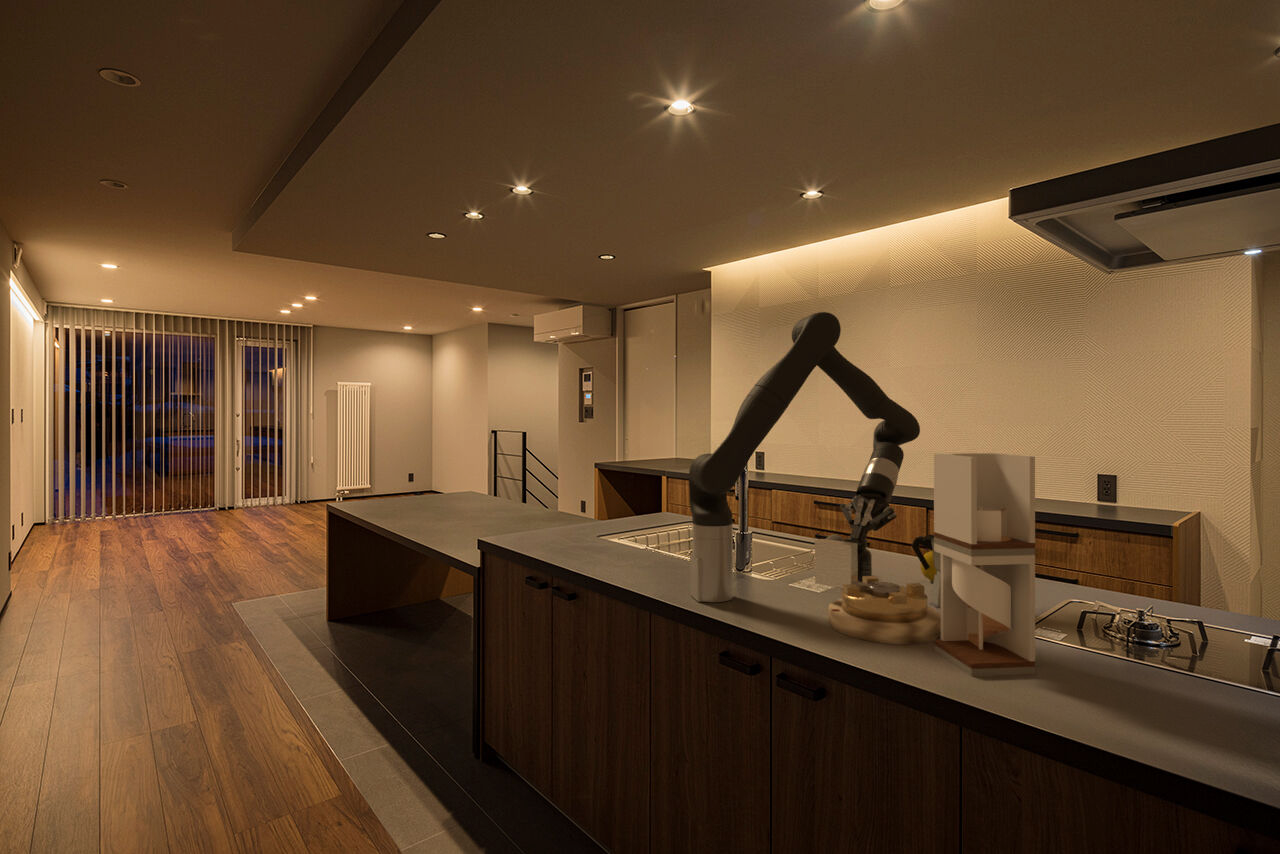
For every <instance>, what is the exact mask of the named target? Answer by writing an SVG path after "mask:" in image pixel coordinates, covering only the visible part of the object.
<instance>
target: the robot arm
mask: <svg viewBox="0 0 1280 854" xmlns="http://www.w3.org/2000/svg"><path fill="white" fill-rule="evenodd" d="M841 328H842V327H841V323H840V320H839V319H838V317H837V316H836V315H834V314H833V313H831V312H826V311H821V312H819V311H818V312H815V313H813V314H810V315H808V316H805V317H804V318H801V319H800V320H798V321H797V322H796V323H795V324H794V325H793V327H792V330H791V340H792V343H793V344H792V345H791V347H790V348H789V350H787V352H786V354H785V355H784V356H783V357H782V358H780V360H778V361H777V362H776V363H775V364H774V365H773V366H771V367H770V369H768V370H767V371H766V372H765V373H764V374H763V375H762V376H761V377H760V378H759V379H758V380H757V382H756V383H755V384H754V385H753V386H752V388H751V390H750V391H749V392H748V394H747V395H746V396H745V398H744V400H743V401H742V403H741V404H740V407H739V409H738V411H737V414H736V416H735V419H734V423H733V424H732V427H731V430H730V432H729V433H728V435H727V436H726V437H725V439H724V440H723V441H722V442H721V443H720V445H719V446H718V447H717V448H716V449H715V450H714V451H713V453H703V454H700V455H698V456H696V457H695V458H694V460H693V461H692V462H691V464H690V467H689V471H688V492H689V495H688V498H689V509H690V512H691V517H692V518H691V519H692V554H690V556H689V574H690V575H689V581H690V582H689V586H690V588H689V589H690V590H689V593H690V597H692V598H693V599H694V600H695V601H696V602H701V603H702V602H705V603H724V602H729V601H731V600H733V598H734V587H733V586H734V571H733V570H734V565H733V563H734V558H733V557H734V555H733V550H734V548H733V547H734V546H733V545H734V544H733V541H734V540H733V538H734V537H733V533H734V531H733V529H734V528H733V512H732V509H731V508H730V506H729V502H728V495H727V494H728V492H730V491H731V490H732V489H733V488H734V486H735V485H736V483H737V481H738V480H739V478H740V477H741V474H742V473H743V471H744V469H745V467H746V466H747V464H748V462H749V461H750V459H751V457H752V456H753V454H754V453H755V451H756V450H757V448H758V447H759V446H760V445H761V443H762V442H763V441H764V439H765V438H766V437H767V436H768V435H769V433H770V432H771V430H772V429H773V427H774V426H775V425H776V424H777V423H778V422H779V420H780V418H781V417H782V415H783V414H784V413H785V412H786V410H787V409H788V407H789V406H790V404H791V402H792V401H793V400H794V399H795V397H796V396H797V394H798V393H799V391H800V390H801V389H802V387H803V385H804V383H805V382H806V381H807V379H808V378H809V376H810V375H811V373H813V370H814V369H815V368H816V367H818V368H819V369H820V370H821V371H822V372H823V373H824V374H826V375H827V376H828V377H829V378H830V379H831V380H832V381H833V382H834V383H835V384H836V385H837V386H838V387H839V388H840V389H841V390H842V391H843V392H844V393H845V395H846V396H847V397H848V398H849V399H850V400H851V401H852V403H853V404H854V405H855V407H857V409H859V411H860V412H861V413H862V414H863V416H865V418H867V419H868V420H879V419H880V420H881V421H880V422H879V423H878V424H877V425H876V427H875V428H874V431H873V440H872V443H873V444H872V453H871V455H870V458H869V460H868V463H867V465H866V466H865V468H864V470H863V472H862V475H861V478H860V481H859V484H858V485H857V489H856V491H855V495H854V497H853V498H852V499H851V501H850V503H847V504H846V503H840V504H839V507H840V510H841V512H842V514H843V515H844V517H845V519H846V521H847V523H848V525H849V527H850V529H852V530H851V533H850V535H849V537H850V538H851V540H852V542H853V543H857V545H861V543H863V542H864V541H865V538H866V539H867V536H868V533H870V531H875V532H877V531H879V530H880V529H881V528H883V527H885V526H886V525H888V524H889V523H890V522H892V521H893V520H895V519H896V518H897V514H896V512H895V510H894V508H893V507H890V502H891V500H892V496H893V495H894V494H893V493H894V490H895V488H896V486H897V481H898V478H899V473H900V471H901V467H902V463H903V461H904V456H905V455H904V450H903V449H902V448H901V445H904V444H907V443H910V442H913V441H915V440H917V439H918V437H919V436H920V433H921V428H920V427H921V426H920V423H919V421H918V419H917V417H915V416H914V415H913V413H911V412H910V411H909V410H907V409H906V408H904V407H903V406H901V405H900V404H898V402H896V401H894V400H893V399H891V398H890V397H888V395H887V394H886V393H885V391H883V389H882V387H880V385H878V384H877V382H876V381H875V380H874V379H873V378H872V377H871V376H870V375H869V374H867V373H866V372H865V371H864V370H862V369H861V368H859V367H858V366H856V365H855V364H853V363H852V362H851V361H849V360H848V359H847V358H846V357H845V356H843V355H842V354H841V353H840V352H839V350H838V349H837V348H836V347H835V346H836V345H837V343H838V341H839V339H840V336H841ZM853 510H854V514H855V515H854V516H855V517H854V519H853V518H852V516H851V515H852V513H853Z"/></svg>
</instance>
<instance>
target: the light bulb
mask: <svg viewBox="0 0 1280 854" xmlns="http://www.w3.org/2000/svg"><path fill="white" fill-rule="evenodd" d="M825 539H827V540H835V541H843V542H846V540H845V539H844V538H843V537H842V536H841V535H838V534H831V535H828V536H827V537H826V538H825Z"/></svg>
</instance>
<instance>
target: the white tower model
mask: <svg viewBox="0 0 1280 854" xmlns="http://www.w3.org/2000/svg"><path fill="white" fill-rule="evenodd" d="M933 535H934V551H935V552H938V553H941V609H940V614H941V636H940V639H939V638H937V639H935V640H933V641H934V647H933V648H934V652H935V653H937V654H938V655H940V657H943V658H944V659H945V660H946V661H948V662H949V663H951V664H953V665H954V666H956V667H957V668H958V669H960V670H961V671H963V672H965V673H966V674H967V675H969V676H970V677H985V676H986V677H988V676H989V677H990V676H991V677H993V676H1016V675H1017V676H1019V675H1035V674H1036V456H1034V455H1033V456H1032V455H1020V454H1006V453H999V452H998V453H995V452H973V453H972V452H966V453H965V452H961V453H960V452H959V453H957V452H954V453H953V452H952V453H948V452H947V453H946V452H945V453H933Z"/></svg>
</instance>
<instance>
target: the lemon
mask: <svg viewBox="0 0 1280 854" xmlns="http://www.w3.org/2000/svg"><path fill="white" fill-rule="evenodd" d="M923 556H924V557H925V559H926V561H927V563H928V564H929V566H930V568H928V569H927V570H925V569H924V567H923V565H922V564H921V563H920V571H921V574H922V575H923V576H924V578H926V579H928V580H929V581H930V582H931V583H933V582H934V576H935V574H936V573H937V570H936V569H935V566H934V559H933V551H931V550H929V551H928V552H925V553H924V554H923Z"/></svg>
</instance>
